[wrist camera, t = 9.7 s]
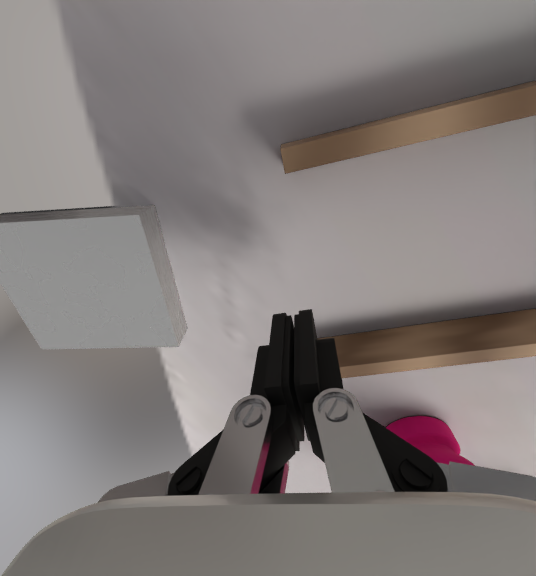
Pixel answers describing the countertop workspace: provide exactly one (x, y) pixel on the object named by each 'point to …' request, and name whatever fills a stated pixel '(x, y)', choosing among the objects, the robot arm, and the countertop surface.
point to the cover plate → (91, 277)
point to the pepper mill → (429, 438)
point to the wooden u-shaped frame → (439, 335)
